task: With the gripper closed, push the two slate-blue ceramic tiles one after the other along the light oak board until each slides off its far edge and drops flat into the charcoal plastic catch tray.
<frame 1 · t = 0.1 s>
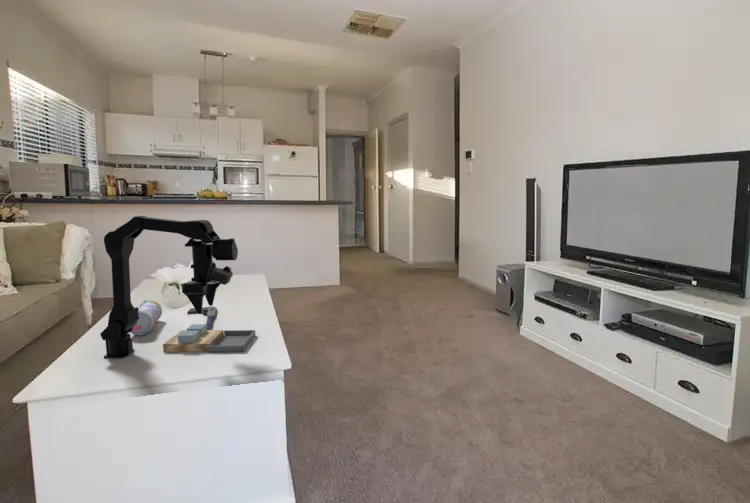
hand: (205, 309, 137), 15 cm above the table, tool pointing down, fingers open, 9 cm apart
catch tray: (233, 343, 148), on the table
pencil case: (146, 329, 165), on the table
tile far: (197, 333, 151), point 2 cm above the table, touching oak board
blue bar: (199, 322, 174), on the table
oak board: (195, 343, 148), on the table
tile near: (189, 340, 144), point 2 cm above the table, touching oak board
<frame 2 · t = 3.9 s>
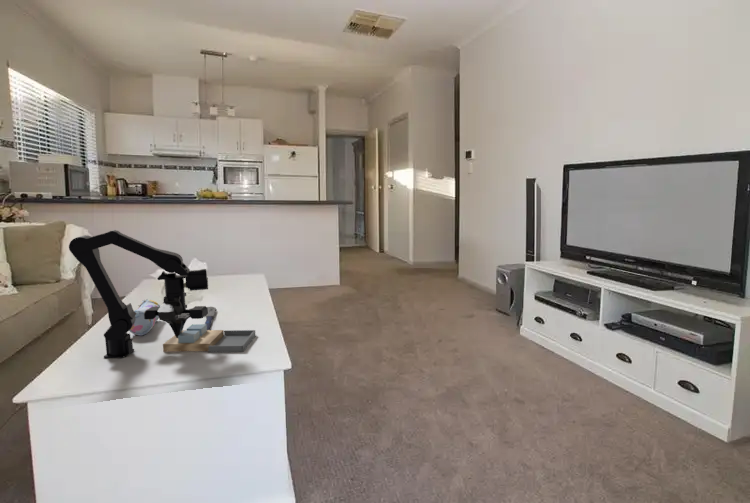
hand: (178, 337, 144), 3 cm above the table, tool pointing down, fingers closed
tile near: (189, 340, 144), point 2 cm above the table, touching gripper, oak board
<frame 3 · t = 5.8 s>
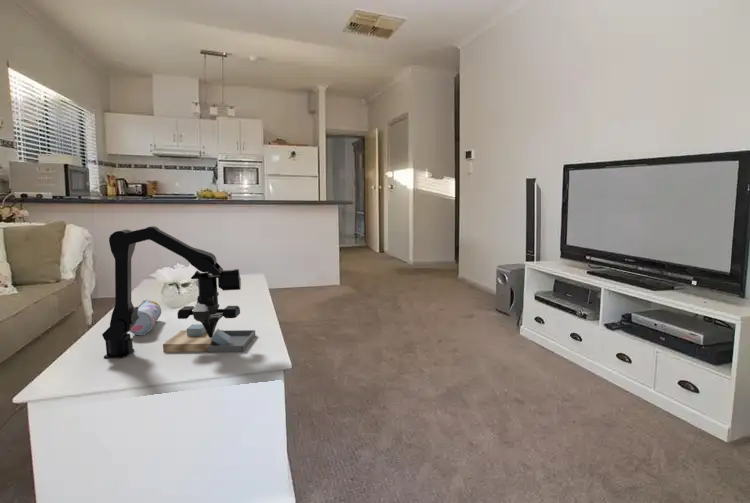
hand: (210, 337, 144), 3 cm above the table, tool pointing down, fingers closed
tile near: (218, 340, 145), point 2 cm above the table, tilted 36°, touching gripper
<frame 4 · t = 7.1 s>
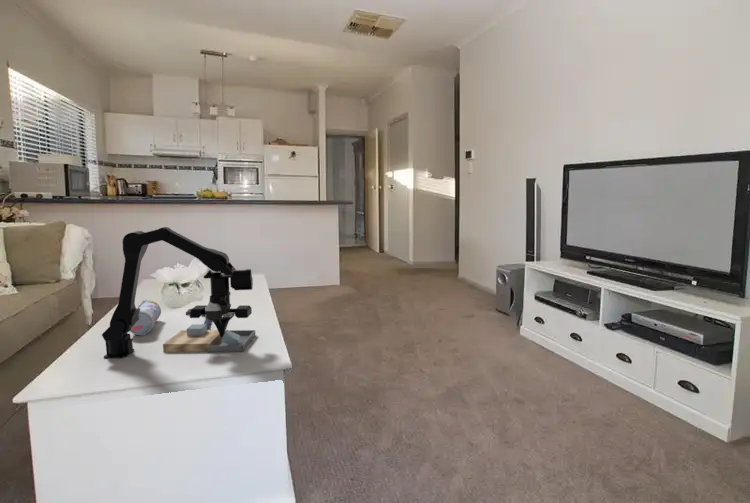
hand: (222, 336, 144), 4 cm above the table, tool pointing down, fingers closed
tile near: (229, 341, 145), point 2 cm above the table, tilted 29°, touching catch tray, gripper
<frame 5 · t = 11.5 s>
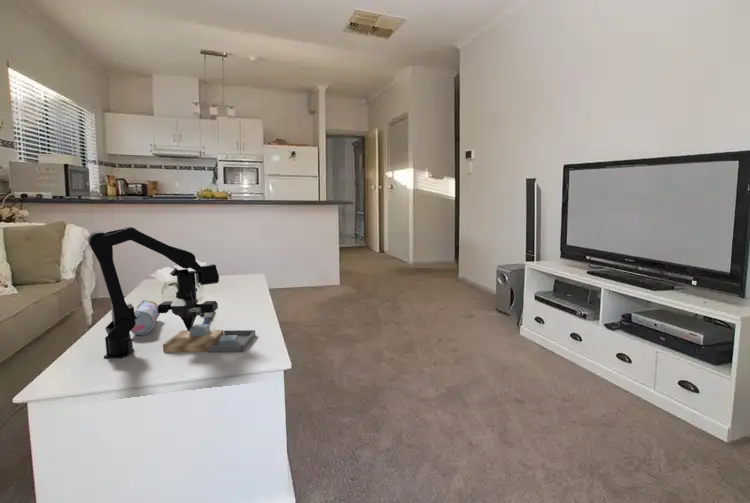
hand: (189, 330, 151), 3 cm above the table, tool pointing down, fingers closed
tile far: (200, 333, 151), point 2 cm above the table, touching gripper, oak board
tile near: (228, 344, 145), resting on catch tray
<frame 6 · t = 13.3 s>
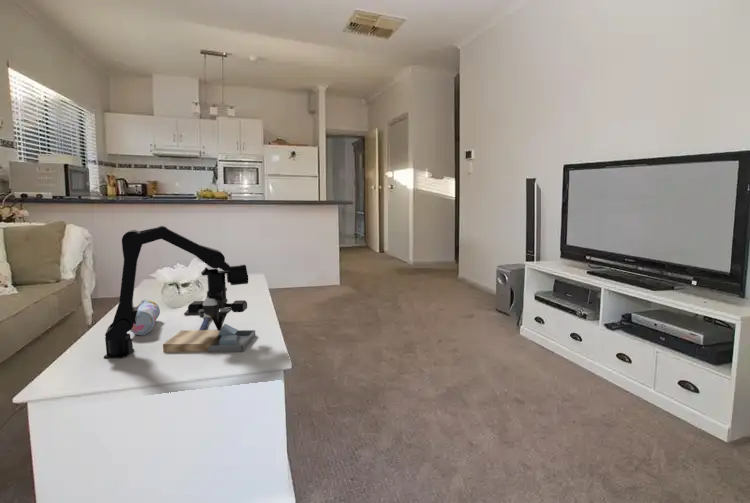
hand: (219, 330, 151), 3 cm above the table, tool pointing down, fingers closed
tile far: (226, 335, 152), point 2 cm above the table, tilted 30°, touching gripper
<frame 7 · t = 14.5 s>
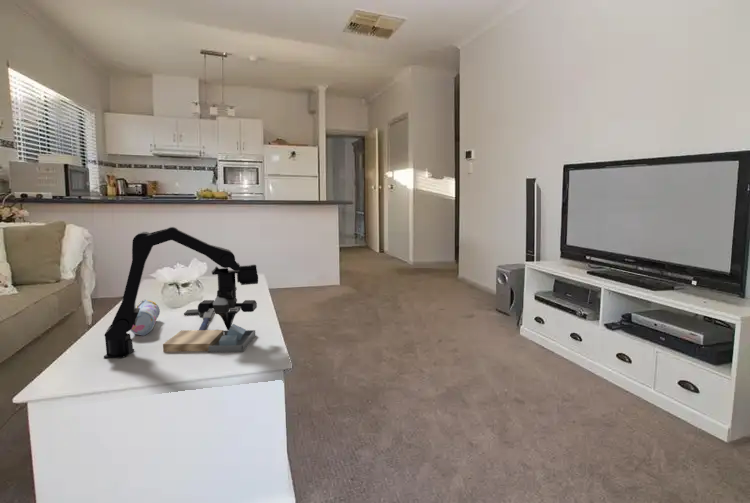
hand: (228, 329, 151), 4 cm above the table, tool pointing down, fingers closed
tile far: (234, 335, 152), point 2 cm above the table, tilted 28°, touching catch tray, gripper
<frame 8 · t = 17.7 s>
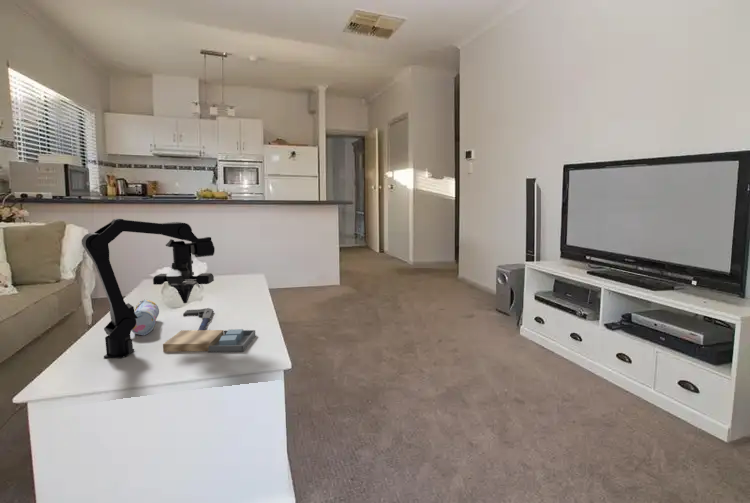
hand: (185, 303, 151), 13 cm above the table, tool pointing down, fingers closed
tile far: (234, 338, 152), resting on catch tray
at the end: tile near inside the target area on the catch tray (2.6 cm from its centre), point 0.4 cm above the catch tray's base; tile far inside the target area on the catch tray (4.0 cm from its centre), point 0.4 cm above the catch tray's base; tile near touching catch tray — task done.
